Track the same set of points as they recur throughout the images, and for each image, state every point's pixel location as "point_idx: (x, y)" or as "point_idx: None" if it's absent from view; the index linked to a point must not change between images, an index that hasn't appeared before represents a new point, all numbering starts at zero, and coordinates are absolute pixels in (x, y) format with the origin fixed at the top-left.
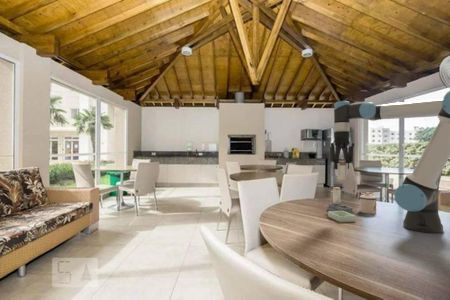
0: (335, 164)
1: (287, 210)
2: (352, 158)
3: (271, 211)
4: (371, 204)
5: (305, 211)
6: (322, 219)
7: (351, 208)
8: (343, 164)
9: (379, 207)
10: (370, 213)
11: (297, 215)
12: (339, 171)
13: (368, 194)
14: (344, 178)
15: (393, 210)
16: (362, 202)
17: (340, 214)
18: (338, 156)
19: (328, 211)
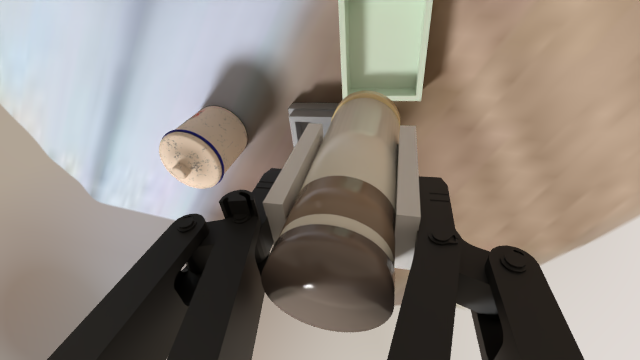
0: (452, 221)
1: (520, 213)
2: (153, 249)
3: (608, 215)
4: (199, 122)
5: (454, 186)
6: (478, 52)
7: (294, 115)
8: (342, 184)
9: (161, 178)
10: (221, 107)
11: (544, 137)
12: (392, 155)
13: (182, 163)
14: (352, 104)
15: (130, 137)
16: (226, 146)
17: (360, 90)
18: (414, 327)
19: (419, 99)
